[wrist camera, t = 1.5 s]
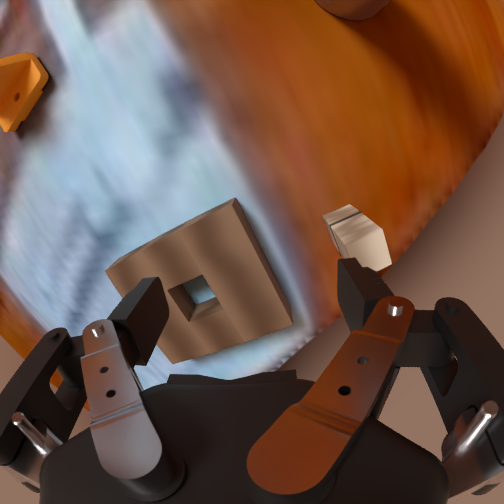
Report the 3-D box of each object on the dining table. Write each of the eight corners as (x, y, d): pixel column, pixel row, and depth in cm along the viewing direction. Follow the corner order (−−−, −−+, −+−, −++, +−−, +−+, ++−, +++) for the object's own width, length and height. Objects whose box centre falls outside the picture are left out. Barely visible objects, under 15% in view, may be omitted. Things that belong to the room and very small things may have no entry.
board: (235, 197, 32) (231, 204, 28) (290, 307, 37) (293, 324, 33) (118, 258, 35) (104, 271, 31) (179, 346, 40) (172, 364, 36)
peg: (349, 203, 31) (382, 228, 22) (359, 230, 32) (392, 264, 23) (321, 215, 32) (344, 245, 23) (332, 242, 33) (357, 281, 24)
